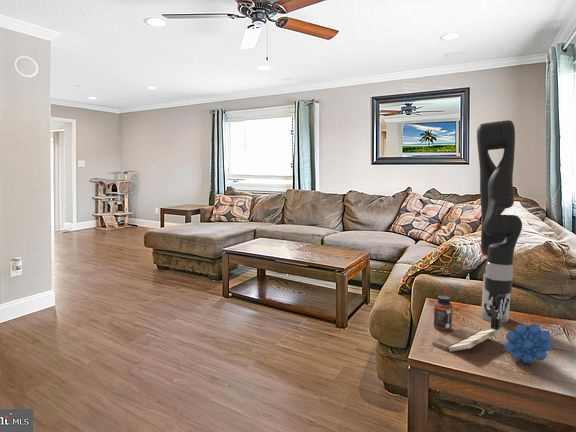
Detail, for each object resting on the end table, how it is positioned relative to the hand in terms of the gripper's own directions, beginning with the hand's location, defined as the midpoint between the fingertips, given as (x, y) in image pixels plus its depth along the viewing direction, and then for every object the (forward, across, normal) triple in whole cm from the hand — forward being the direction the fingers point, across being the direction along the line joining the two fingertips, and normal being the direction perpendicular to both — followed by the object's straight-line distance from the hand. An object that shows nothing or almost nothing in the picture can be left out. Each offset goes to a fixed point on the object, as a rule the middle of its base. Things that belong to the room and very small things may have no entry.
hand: (495, 328), depth 117 cm
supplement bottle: (+5, +2, -17) cm, 18 cm away
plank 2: (+3, +2, -2) cm, 4 cm away
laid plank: (+5, +7, -9) cm, 12 cm away
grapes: (+5, +5, +11) cm, 13 cm away
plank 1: (+3, +12, -2) cm, 13 cm away
